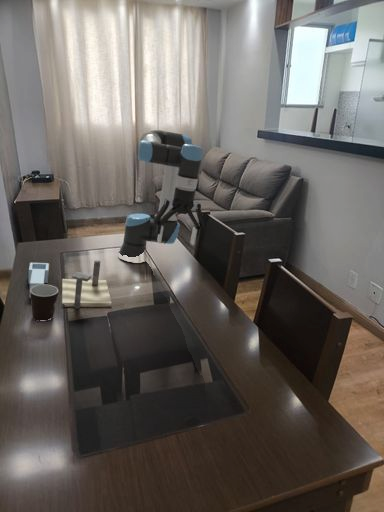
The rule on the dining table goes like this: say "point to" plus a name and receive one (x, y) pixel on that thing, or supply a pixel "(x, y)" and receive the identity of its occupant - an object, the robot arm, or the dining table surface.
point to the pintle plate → (86, 290)
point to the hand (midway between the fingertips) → (175, 243)
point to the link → (38, 274)
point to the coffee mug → (43, 301)
